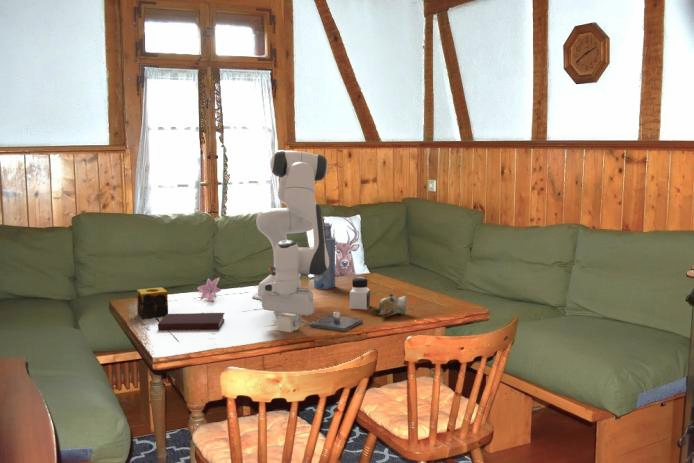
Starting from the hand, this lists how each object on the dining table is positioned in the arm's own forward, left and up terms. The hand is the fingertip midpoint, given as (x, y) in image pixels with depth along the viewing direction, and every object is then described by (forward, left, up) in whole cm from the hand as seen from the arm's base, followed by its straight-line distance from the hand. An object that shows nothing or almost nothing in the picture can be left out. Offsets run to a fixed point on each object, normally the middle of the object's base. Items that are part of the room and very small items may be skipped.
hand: (288, 324), depth 248 cm
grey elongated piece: (-26, +70, -2) cm, 75 cm away
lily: (-57, +26, -2) cm, 63 cm away
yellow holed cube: (-58, -7, -2) cm, 58 cm away
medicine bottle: (+7, +42, -2) cm, 43 cm away
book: (-34, -11, -3) cm, 36 cm away
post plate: (+12, +14, -2) cm, 19 cm away
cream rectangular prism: (0, 0, -2) cm, 2 cm away
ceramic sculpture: (+23, +36, -2) cm, 43 cm away
